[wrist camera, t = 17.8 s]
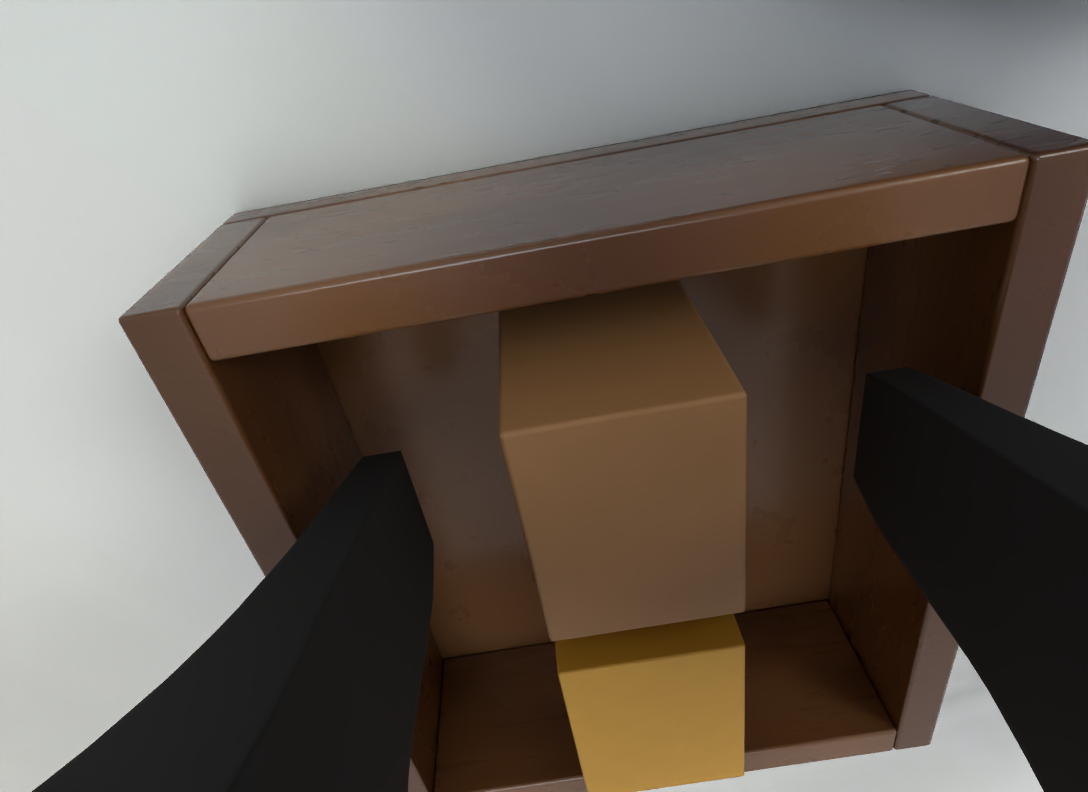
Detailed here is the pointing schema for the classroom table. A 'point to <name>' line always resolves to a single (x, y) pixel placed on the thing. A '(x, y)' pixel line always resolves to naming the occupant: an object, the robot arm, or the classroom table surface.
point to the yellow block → (656, 704)
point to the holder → (735, 324)
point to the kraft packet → (624, 459)
